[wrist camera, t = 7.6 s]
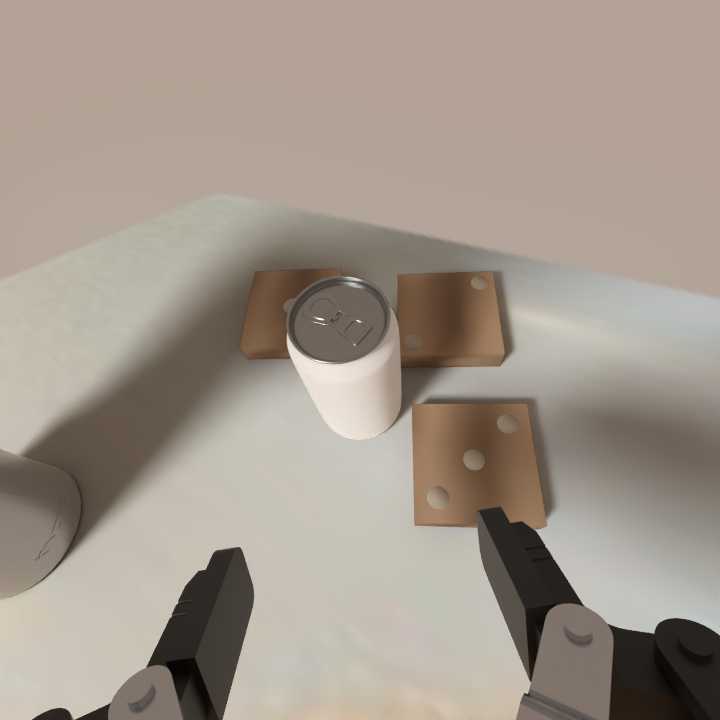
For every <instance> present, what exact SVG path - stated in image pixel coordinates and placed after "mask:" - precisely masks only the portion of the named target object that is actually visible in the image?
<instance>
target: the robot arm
mask: <svg viewBox="0 0 720 720" xmlns="http://www.w3.org/2000/svg"><path fill="white" fill-rule="evenodd" d="M80 513H81V499H80V492H79V489H78V487H77V485H76V482H75V481H74V479H73V478H72V477H71V476H70V475H69V474H68V473H67V472H65V471H64V470H62V469H60V468H58V467H54V466H51V465H48V464H45V463H42V462H38V461H35V460H32V459H29V458H26V457H22V456H19V455H16V454H14V453H10V452H7V451H4V450H1V449H0V599H4V598H9V597H12V596H15V595H17V594H19V593H22V592H24V591H26V590H27V589H29V588H30V587H32V586H34V585H35V584H37V583H38V582H39V581H40V580H42V579H43V578H44V577H45V576H46V575H47V574H48V573H49V572H51V571H52V569H53V568H54V567H55V566H56V565H57V563H58V562H59V561H60V560H61V559H62V557H63V556H64V554H65V552H66V551H67V549H68V547H69V546H70V544H71V542H72V540H73V537H74V535H75V533H76V530H77V527H78V523H79V519H80ZM476 517H477V527H478V536H479V546H480V553H481V558H482V562H483V566H484V569H485V572H486V574H487V577H488V579H489V582H490V584H491V587H492V589H493V591H494V594H495V596H496V599H497V601H498V604H499V606H500V609H501V611H502V614H503V616H504V619H505V621H506V624H507V626H508V628H509V631H510V633H511V636H512V638H513V641H514V643H515V646H516V648H517V651H518V653H519V656H520V658H521V660H522V663H523V665H524V668H525V670H526V673H527V675H528V678H529V680H530V682H531V686H530V689H529V692H528V694H526V693H524V695H523V697H522V699H521V702H520V706H519V710H518V714H517V718H516V720H720V635H718V634H717V633H716V632H714V631H713V630H711V629H709V628H707V627H706V626H704V625H701V624H699V623H697V622H694V621H690V620H686V619H679V618H672V619H667V620H664V621H662V622H660V623H659V624H658V625H657V627H656V629H655V634H652V633H645V632H639V631H632V630H626V629H621V628H617V627H614V626H612V625H609V624H607V623H606V622H605V621H604V620H603V618H601V617H600V616H599V615H598V614H597V613H595V612H594V611H592V610H590V609H588V608H586V607H585V606H584V605H583V604H582V602H581V601H580V599H579V598H578V596H577V594H576V593H575V591H574V590H573V588H572V587H571V585H570V583H569V582H568V580H567V579H566V577H565V576H564V574H563V572H562V571H561V569H560V568H559V566H558V565H557V563H556V561H555V560H553V557H552V555H551V554H550V552H549V551H548V549H547V548H546V547H545V544H544V543H543V541H542V540H541V538H540V536H539V535H538V533H537V532H536V531H535V530H534V529H532V528H531V527H530V526H528V525H527V524H526V523H524V522H523V521H519V522H513V523H510V521H509V520H508V518H507V516H506V514H505V513H504V511H503V509H502V508H501V507H493V508H487V509H481V510H477V511H476ZM253 602H254V589H253V584H252V581H251V577H250V574H249V571H248V568H247V564H246V561H245V558H244V555H243V552H242V550H241V548H240V547H236V548H230V549H223V550H217V551H215V552H214V553H213V555H212V557H211V559H210V562H209V564H208V566H207V568H206V570H202V571H198V572H197V573H196V575H195V576H194V577H193V578H192V579H191V580H190V581H189V582H188V584H187V585H186V586H185V588H184V590H183V592H182V594H181V596H180V598H179V601H178V604H177V605H176V607H175V609H174V611H173V613H172V618H170V619H169V621H168V623H167V625H166V628H165V630H164V632H163V634H162V636H161V638H160V640H159V642H158V644H157V646H156V648H155V650H154V653H153V655H152V657H151V659H150V661H149V663H148V665H147V667H146V668H145V669H143V670H141V671H139V672H137V673H136V674H135V675H133V676H132V677H131V678H129V679H128V680H127V681H126V682H125V683H124V684H123V685H122V686H121V688H120V689H119V690H118V691H117V693H116V694H115V696H114V698H113V700H112V702H111V703H110V704H108V705H106V706H104V707H102V708H99V709H97V710H95V711H93V712H91V713H89V714H86V715H84V716H82V717H80V718H78V719H76V720H222V719H223V715H224V712H225V708H226V704H227V701H228V697H229V693H230V689H231V686H232V682H233V678H234V675H235V671H236V667H237V663H238V660H239V656H240V652H241V649H242V645H243V641H244V638H245V634H246V630H247V626H248V623H249V619H250V615H251V612H252V608H253ZM32 720H73V718H72V716H71V714H70V712H69V711H68V710H66V709H64V708H56V709H51V710H49V711H46V712H44V713H42V714H40V715H38V716H37V717H35V718H34V719H32Z"/></svg>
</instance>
